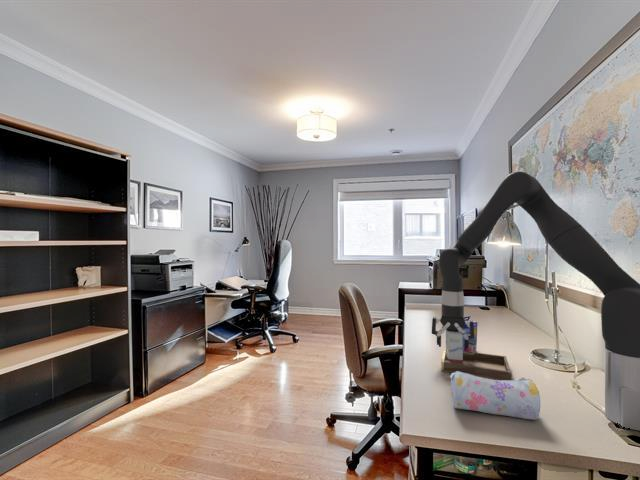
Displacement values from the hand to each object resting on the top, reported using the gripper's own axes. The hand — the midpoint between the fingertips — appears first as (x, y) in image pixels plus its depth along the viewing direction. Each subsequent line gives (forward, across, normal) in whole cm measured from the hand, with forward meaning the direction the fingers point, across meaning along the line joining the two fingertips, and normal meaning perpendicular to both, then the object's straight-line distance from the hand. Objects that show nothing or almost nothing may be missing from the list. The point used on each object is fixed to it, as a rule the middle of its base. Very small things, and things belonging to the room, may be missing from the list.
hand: (452, 347), depth 119 cm
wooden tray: (+6, +7, 0) cm, 9 cm away
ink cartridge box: (+6, +4, +18) cm, 19 cm away
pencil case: (+6, +11, -31) cm, 33 cm away
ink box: (+6, 0, 0) cm, 6 cm away
